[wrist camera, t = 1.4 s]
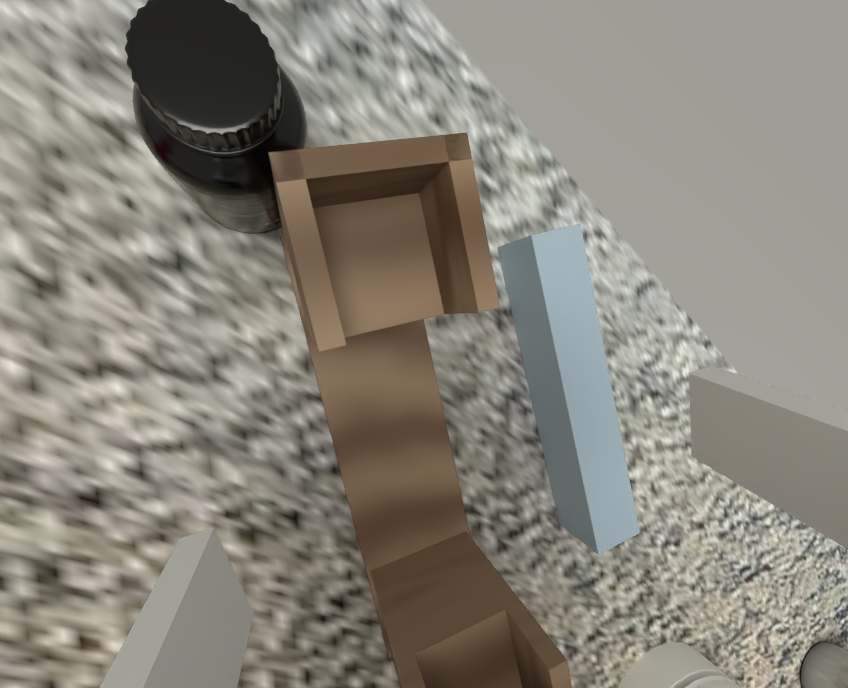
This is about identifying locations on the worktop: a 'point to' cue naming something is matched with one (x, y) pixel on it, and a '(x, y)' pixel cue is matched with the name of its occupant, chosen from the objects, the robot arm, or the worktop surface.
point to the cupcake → (825, 667)
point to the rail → (570, 385)
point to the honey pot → (675, 670)
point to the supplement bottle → (214, 106)
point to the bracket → (404, 395)
